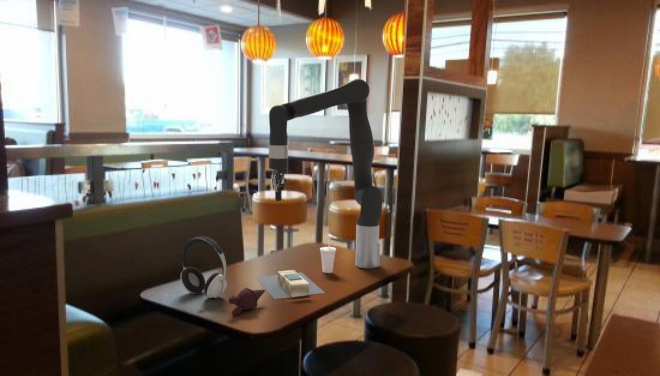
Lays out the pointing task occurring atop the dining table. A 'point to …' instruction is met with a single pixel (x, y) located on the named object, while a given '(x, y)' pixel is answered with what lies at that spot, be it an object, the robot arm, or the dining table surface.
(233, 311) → the maroon rounded piece
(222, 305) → the dining table surface
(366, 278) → the dining table surface
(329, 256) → the smoothie
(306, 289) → the birch block
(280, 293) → the mat
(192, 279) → the headphones
